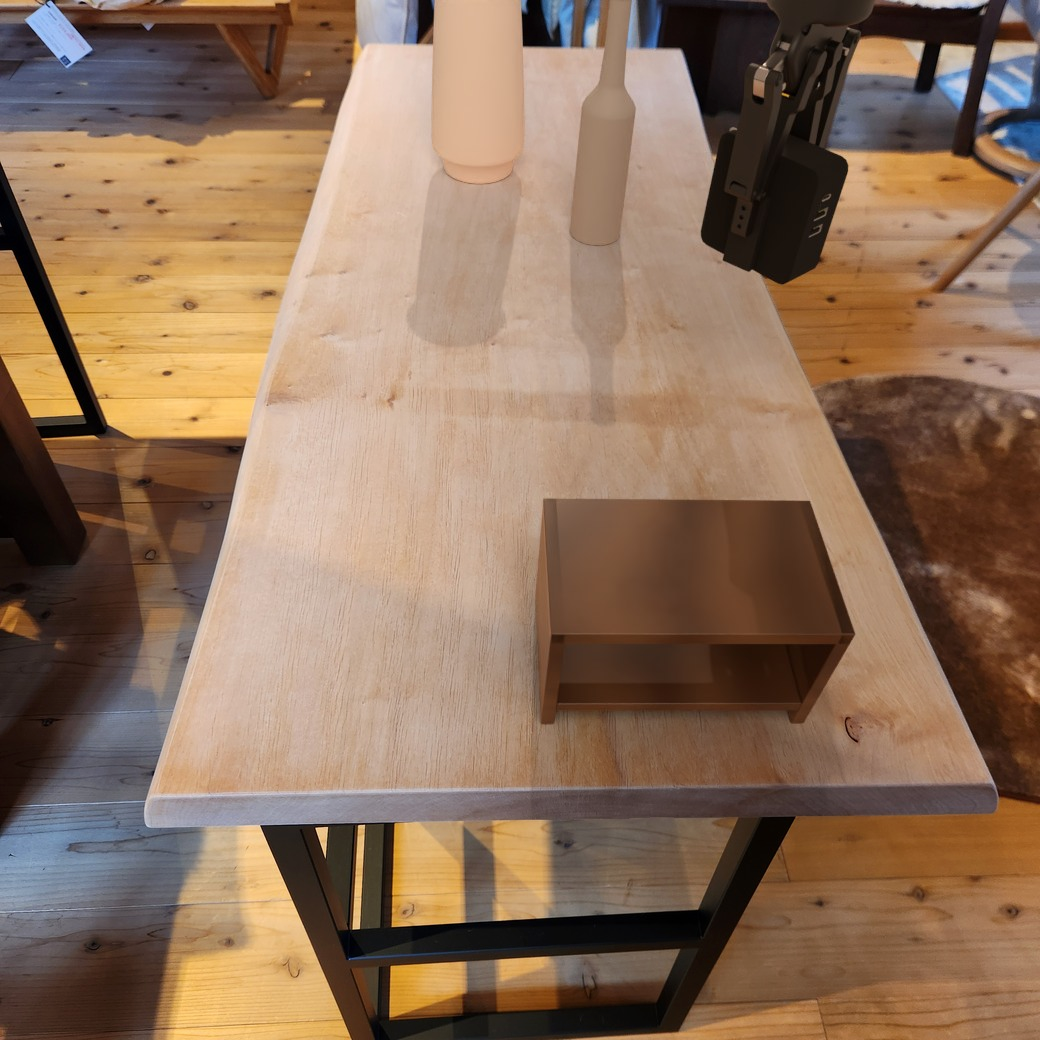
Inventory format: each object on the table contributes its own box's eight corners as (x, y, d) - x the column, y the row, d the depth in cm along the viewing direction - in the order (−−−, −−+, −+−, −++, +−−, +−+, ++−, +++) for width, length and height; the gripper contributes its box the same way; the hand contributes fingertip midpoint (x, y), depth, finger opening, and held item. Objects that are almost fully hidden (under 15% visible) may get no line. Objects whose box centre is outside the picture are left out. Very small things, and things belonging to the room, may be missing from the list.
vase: (523, 191, 118) (532, -43, 97) (429, 188, 117) (418, -48, 97) (523, 148, 126) (531, -75, 106) (435, 145, 126) (427, -79, 105)
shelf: (769, 596, 72) (810, 500, 63) (803, 723, 64) (856, 634, 55) (535, 595, 72) (543, 498, 63) (540, 724, 64) (550, 634, 55)
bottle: (571, 244, 109) (593, -1, 88) (568, 218, 113) (589, -21, 92) (622, 246, 109) (656, 2, 88) (617, 220, 113) (649, -19, 93)
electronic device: (786, 288, 72) (820, 173, 65) (697, 241, 77) (721, 129, 70) (815, 273, 74) (852, 160, 67) (727, 227, 79) (753, 117, 72)
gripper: (843, -85, 65) (767, 204, 82) (717, -39, 56) (662, 275, 73) (937, -64, 62) (838, 232, 79) (820, -12, 52) (736, 310, 70)
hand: (753, 252), depth 76 cm, fingers closed on electronic device, 5 cm apart
